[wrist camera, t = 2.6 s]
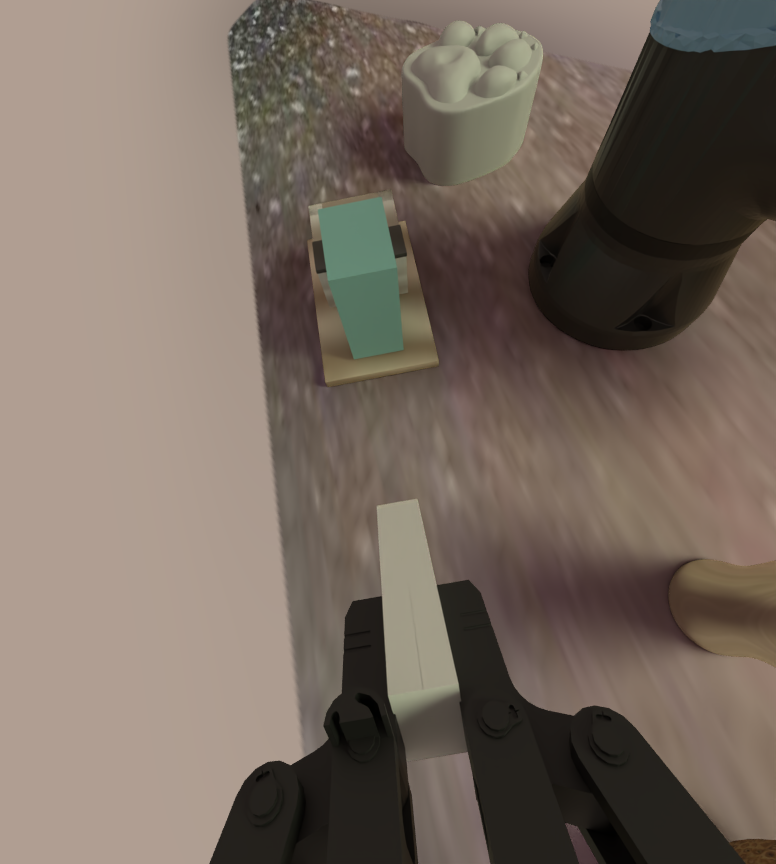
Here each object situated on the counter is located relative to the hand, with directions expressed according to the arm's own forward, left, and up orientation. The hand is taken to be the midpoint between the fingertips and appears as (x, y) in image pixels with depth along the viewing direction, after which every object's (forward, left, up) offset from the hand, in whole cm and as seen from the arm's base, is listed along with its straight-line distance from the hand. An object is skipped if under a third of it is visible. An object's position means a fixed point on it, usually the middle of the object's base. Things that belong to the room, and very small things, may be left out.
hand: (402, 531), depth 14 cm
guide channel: (-13, -18, -16) cm, 28 cm away
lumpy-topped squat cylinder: (-35, -25, -16) cm, 46 cm away
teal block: (-11, -16, -15) cm, 24 cm away
